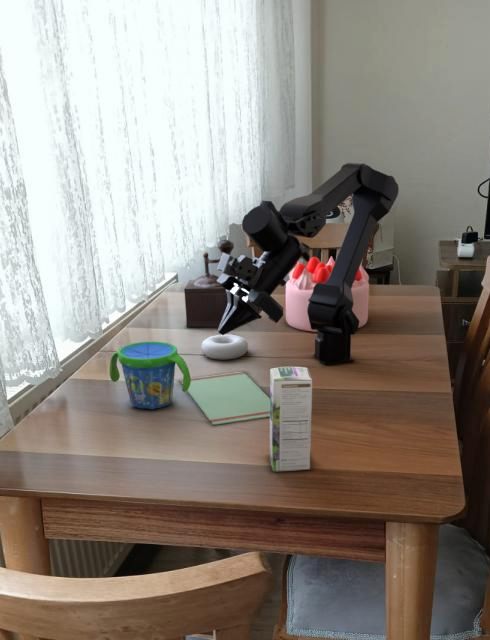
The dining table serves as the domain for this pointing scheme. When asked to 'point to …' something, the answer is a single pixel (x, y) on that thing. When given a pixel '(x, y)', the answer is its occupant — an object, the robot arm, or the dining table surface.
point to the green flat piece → (229, 398)
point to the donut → (224, 346)
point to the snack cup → (149, 372)
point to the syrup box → (290, 418)
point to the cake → (304, 284)
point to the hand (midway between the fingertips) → (219, 333)
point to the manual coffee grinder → (207, 295)
